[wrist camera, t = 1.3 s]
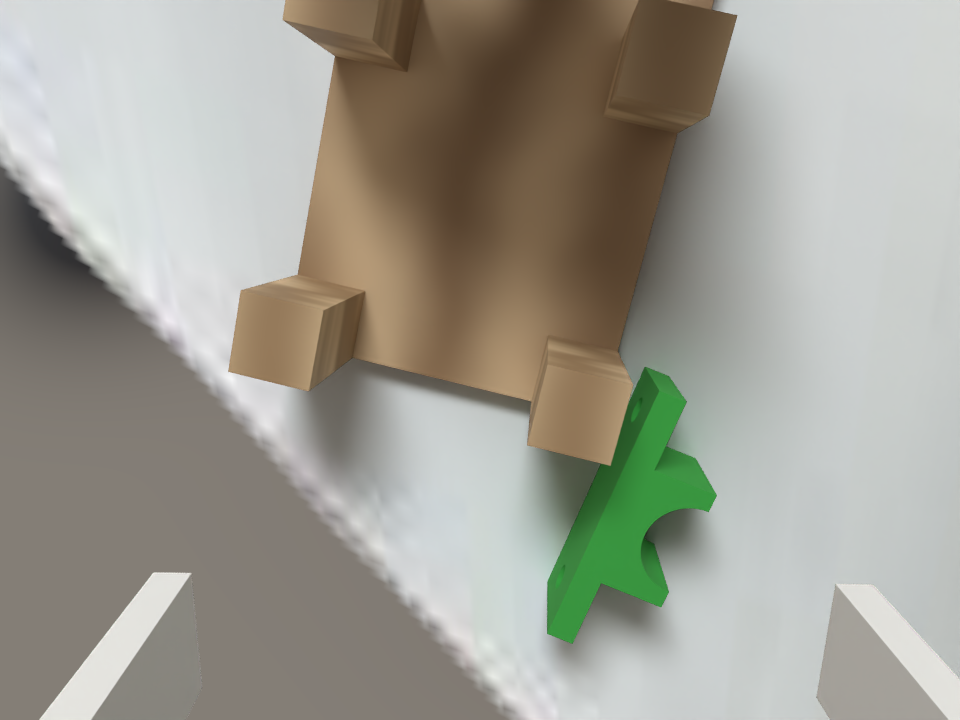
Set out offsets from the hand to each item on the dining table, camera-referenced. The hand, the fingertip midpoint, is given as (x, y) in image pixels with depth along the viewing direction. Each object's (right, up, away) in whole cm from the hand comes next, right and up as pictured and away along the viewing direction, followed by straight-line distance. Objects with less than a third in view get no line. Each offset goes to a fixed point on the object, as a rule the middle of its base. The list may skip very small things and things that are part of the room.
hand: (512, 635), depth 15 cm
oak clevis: (0, +15, +16) cm, 22 cm away
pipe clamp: (+6, 0, +19) cm, 20 cm away
